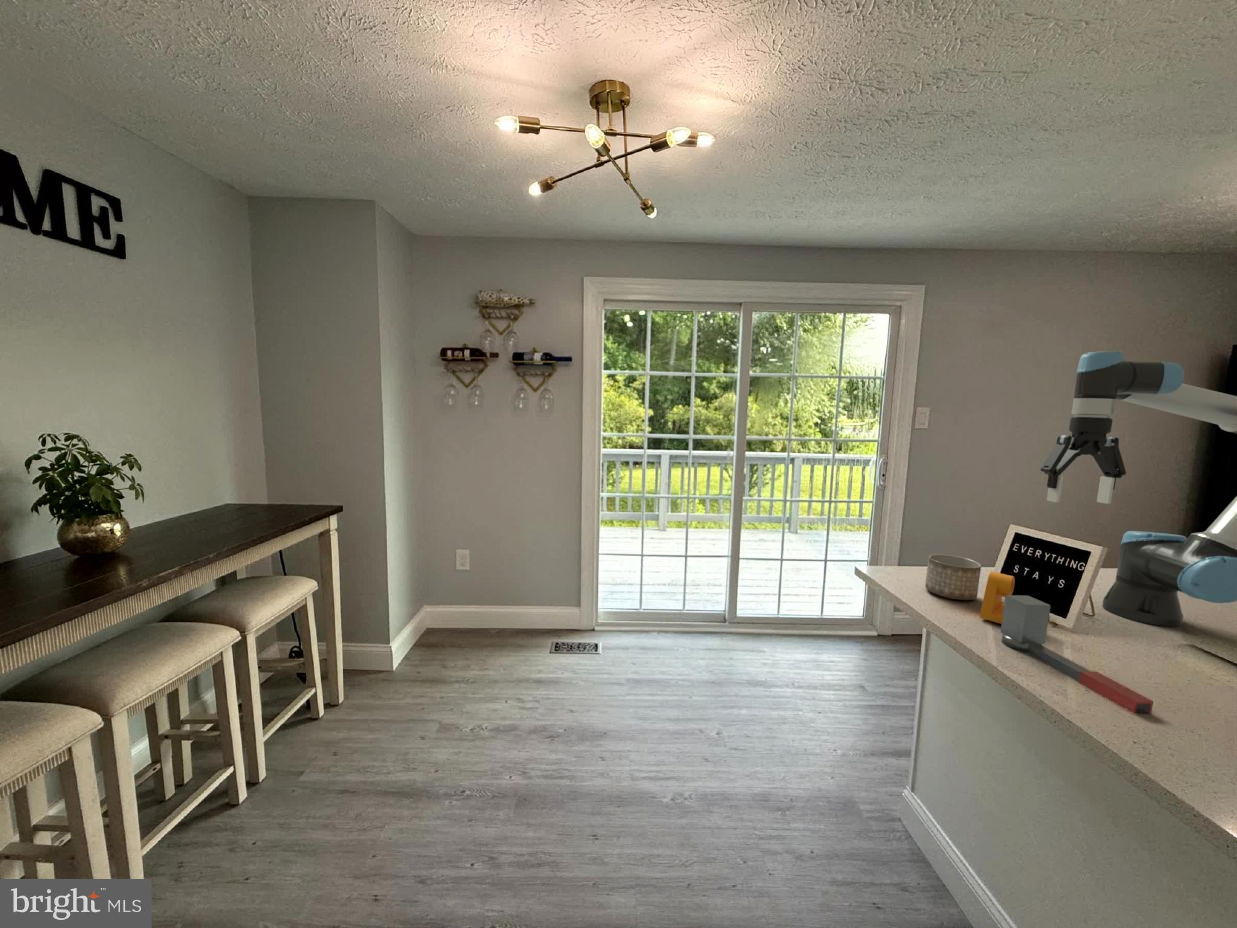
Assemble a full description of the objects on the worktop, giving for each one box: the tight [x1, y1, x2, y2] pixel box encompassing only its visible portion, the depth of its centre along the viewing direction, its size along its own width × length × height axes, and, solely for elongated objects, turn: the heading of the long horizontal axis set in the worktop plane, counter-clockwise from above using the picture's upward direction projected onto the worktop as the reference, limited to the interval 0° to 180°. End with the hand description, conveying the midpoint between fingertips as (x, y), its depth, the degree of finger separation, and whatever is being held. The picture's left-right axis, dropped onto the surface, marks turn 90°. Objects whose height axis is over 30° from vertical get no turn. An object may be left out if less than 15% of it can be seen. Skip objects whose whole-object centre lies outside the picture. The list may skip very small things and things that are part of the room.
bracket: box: [979, 571, 1016, 625], centre depth 127 cm, size 11×7×12 cm, turn 131°
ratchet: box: [1001, 633, 1154, 715], centre depth 103 cm, size 28×7×6 cm, turn 4°
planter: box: [924, 553, 982, 601], centre depth 144 cm, size 13×13×10 cm
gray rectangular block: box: [1000, 594, 1051, 645], centre depth 113 cm, size 6×6×9 cm
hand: (1078, 502), depth 123 cm, fingers open, 13 cm apart
